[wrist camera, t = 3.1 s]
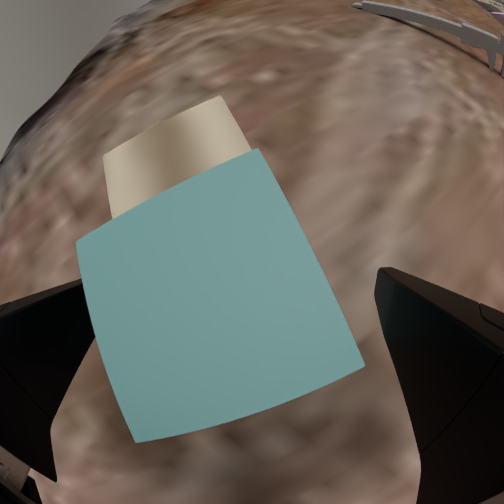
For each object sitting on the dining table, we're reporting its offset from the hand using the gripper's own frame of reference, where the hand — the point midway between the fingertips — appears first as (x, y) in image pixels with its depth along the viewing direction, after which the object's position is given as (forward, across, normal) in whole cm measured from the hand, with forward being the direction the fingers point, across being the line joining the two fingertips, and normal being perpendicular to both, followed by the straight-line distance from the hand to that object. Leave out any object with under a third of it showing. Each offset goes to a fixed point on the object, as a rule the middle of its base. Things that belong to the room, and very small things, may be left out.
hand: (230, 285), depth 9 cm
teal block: (+5, 0, -6) cm, 8 cm away
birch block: (+11, -4, -1) cm, 12 cm away
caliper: (+26, +21, +14) cm, 37 cm away
